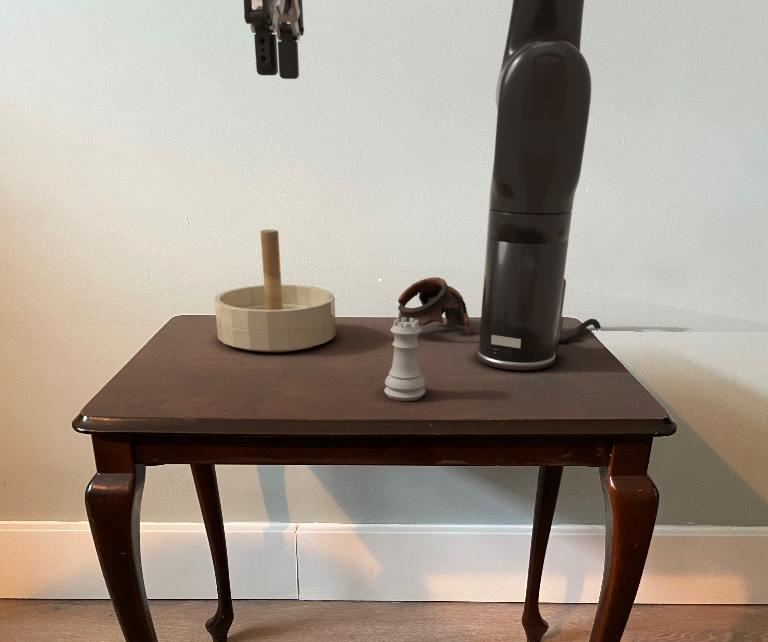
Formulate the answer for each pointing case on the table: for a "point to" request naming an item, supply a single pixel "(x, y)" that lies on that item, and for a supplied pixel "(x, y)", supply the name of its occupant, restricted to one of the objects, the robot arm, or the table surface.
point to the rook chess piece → (405, 363)
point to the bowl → (275, 318)
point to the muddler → (271, 269)
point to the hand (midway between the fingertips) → (279, 77)
